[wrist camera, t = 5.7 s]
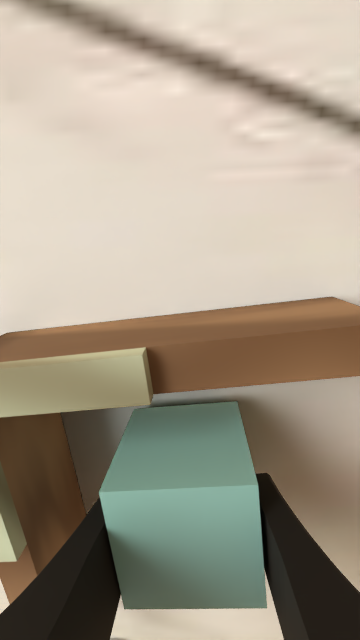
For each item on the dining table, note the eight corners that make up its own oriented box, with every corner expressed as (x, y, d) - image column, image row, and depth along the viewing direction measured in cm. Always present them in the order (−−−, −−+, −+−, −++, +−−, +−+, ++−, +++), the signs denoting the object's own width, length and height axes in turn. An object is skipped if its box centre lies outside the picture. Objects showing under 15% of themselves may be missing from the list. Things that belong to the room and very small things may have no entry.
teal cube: (237, 401, 12) (257, 485, 8) (244, 489, 13) (267, 608, 9) (134, 408, 13) (98, 492, 8) (148, 493, 14) (124, 609, 9)
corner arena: (331, 567, 15) (389, 703, 10) (76, 576, 16) (29, 702, 12) (331, 296, 12) (417, 327, 7) (7, 332, 13) (-95, 378, 8)
